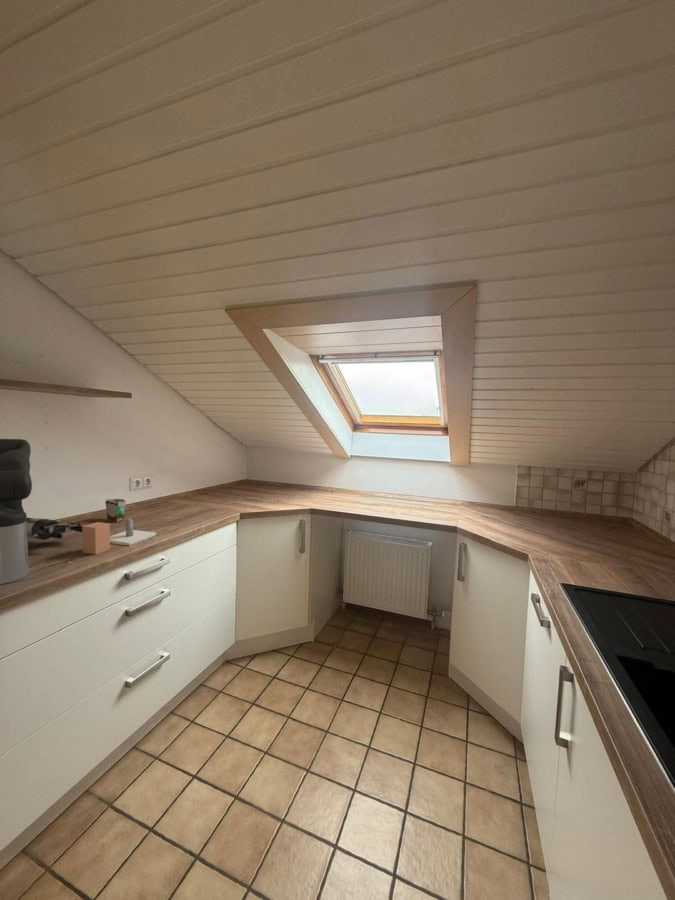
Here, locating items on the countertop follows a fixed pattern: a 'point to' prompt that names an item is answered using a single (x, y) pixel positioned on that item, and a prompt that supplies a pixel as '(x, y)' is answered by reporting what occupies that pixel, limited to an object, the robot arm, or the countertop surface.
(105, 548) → the salmon orange block
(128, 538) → the post
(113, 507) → the food container
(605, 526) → the countertop surface
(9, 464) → the robot arm
